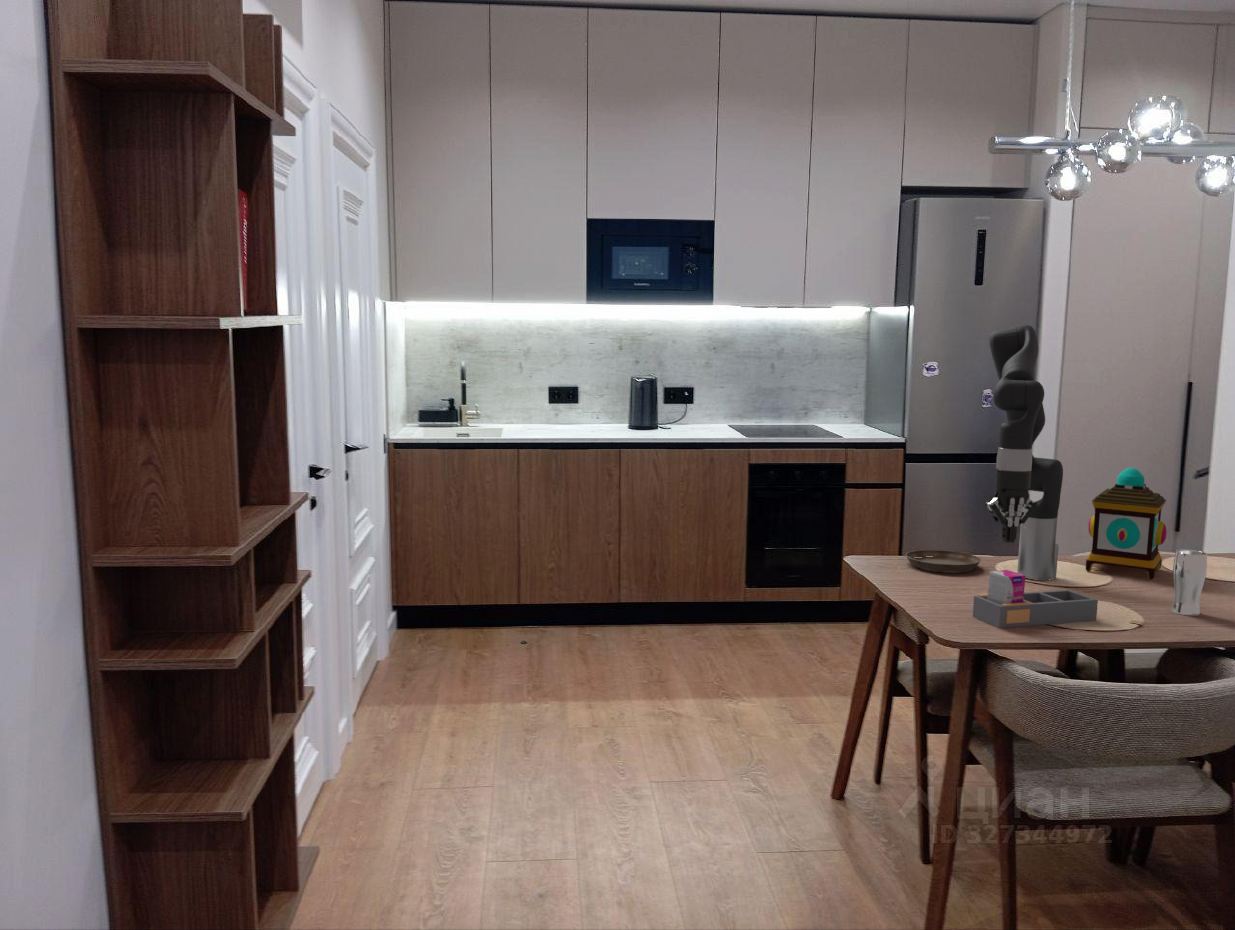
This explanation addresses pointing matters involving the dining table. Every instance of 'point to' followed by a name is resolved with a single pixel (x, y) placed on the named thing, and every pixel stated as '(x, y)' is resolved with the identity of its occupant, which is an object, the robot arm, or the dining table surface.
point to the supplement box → (1006, 587)
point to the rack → (1037, 609)
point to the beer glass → (1188, 581)
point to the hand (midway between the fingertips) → (1008, 541)
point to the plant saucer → (943, 561)
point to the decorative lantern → (1127, 525)
